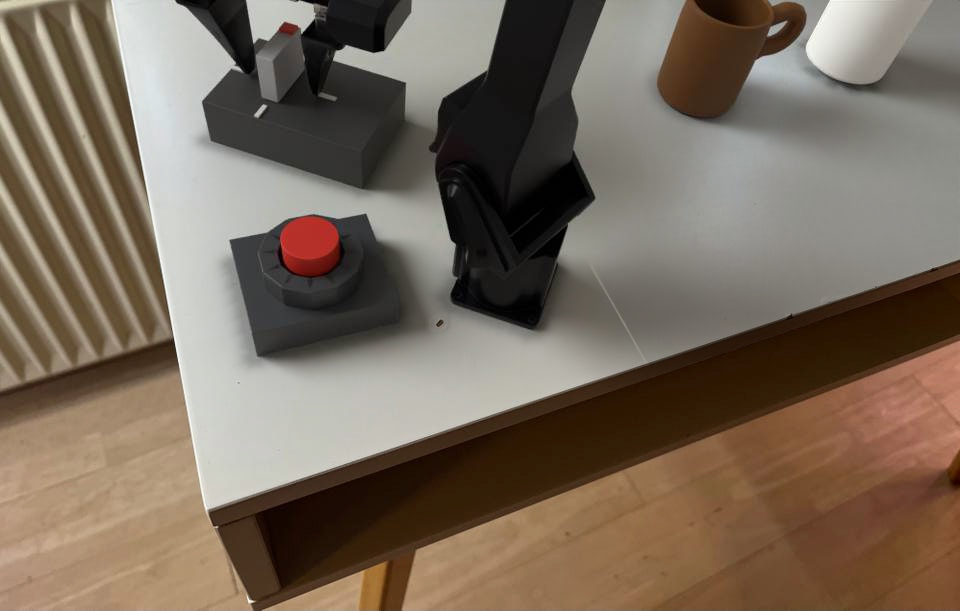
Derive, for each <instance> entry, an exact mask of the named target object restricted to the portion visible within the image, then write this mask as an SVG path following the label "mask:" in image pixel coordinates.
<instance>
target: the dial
mask: <svg viewBox="0 0 960 611" xmlns="http://www.w3.org/2000/svg"><path fill="white" fill-rule="evenodd" d="M301 34H302V28H301V27H300V26H299V25H298V24H294V23H291V22H288V21H284V22H282V24H281V25H280V26H279V27H278V29H277V31H275V33H274V34H273V35H272V36H271V37H270V39H268V40H267V41H268V42H267V43H266V44H265V46H264V47H263V48H262V49H261V50H260V51H259V52H258V54H257V55H256V61H257V68H258V75H259V81H260V88H261V95H262V98H264V99H268V100H271V101H274V102H277V103H278V102H279V101H280V100H281V99H282V97H283V96H284V95H285V94H286V92H287V91H288V90H289V89H290V87H291V86H292V85H293V83H294V82H295V81H296V80H297V78H298V77H299V76H300V75H301V73H302V72H303V71H304V69H305V68H304V57H303V49H302V44H301V38H300V35H301Z"/></svg>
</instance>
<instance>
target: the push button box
mask: <svg viewBox="0 0 960 611" xmlns="http://www.w3.org/2000/svg"><path fill="white" fill-rule="evenodd" d="M303 217H319V218H322V219H325V220H327V221H329V222H330V223H331V224H333V225H334V227H335V228H336V229H337V231H338V235H339V249H340V258H339V261H338V263H337V265H336V266H335V267H334V268H333V269H332V270H331V271H329V272H328V273H326V274H323V275H320V276H315V277H306V276H301V275H298V274H296V273H294V272H292V271H291V270H290V269H289V268H288V267H287V266H286V265H285V263H284V260H283V254H282V247H281V241H280V238H281V233H282V231H283V229H284V228H285V227H286V226H287V225H288V224H289V223H290V222H292V221H294V220H296V219H299V218H303ZM228 241H229V245H230V250H231V254H232V258H233V262H234V266H235V271H236V275H237V279H238V283H239V287H240V291H241V295H242V299H243V305H244V308H245V312H246V316H247V320H248V324H249V328H250V334H251V337H252V341H253V345H254V350H255V353H256V357H262V356H266V355H269V354H273V353H278V352H282V351H286V350H290V349H295V348H299V347H303V346H307V345H308V346H309V345H312V344H315V343H320V342H324V341H328V340H332V339H337V338H340V337H345V336H349V335H352V334H353V335H354V334H357V333H361V332H366V331H370V330H374V329H378V328H383V327H386V326H390V325H394V324H395V325H396V324H398V323H399V321H400V320H399V319H400V298H399V295H398V293H397V290H396V287H395V284H394V283H393V280H392V277H391V274H390V271H389V269H388V267H387V264H386V262H385V259H384V256H383V253H382V251H381V248H380V246H379V243H378V240H377V238H376V235H375V233H374V230H373V227H372V225H371V222H370V220H369V216H368V214H367V213H360V214H356V215H352V216H346V217H340V218H337V217H332V216H325V215H320V214H316V213H311V214H306V215H301V216H294V217H290V218H287V219H285V220H283V221H281V222H280V223H279V224H277V225H276V226H275V227H273V228H272V229H269V231H267V232H262V233H257V234H251V235H247V236H242V237H236V238H231V239H229V240H228Z"/></svg>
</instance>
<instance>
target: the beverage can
mask: <svg viewBox="0 0 960 611" xmlns="http://www.w3.org/2000/svg"><path fill="white" fill-rule="evenodd" d="M933 1H934V0H829V1H828V4H827V5H826V7H825V9H824V10H823V13H822V15H821V16H820V18H819V20H818V22H817V24H816V26H815V27H814V29H813V30H812V33H811V35H810V37H809V39H808V41H807V43H806V44H805V53H806V56H807V58H808V59H809V61H810V62H811V64H812V65H813V66H814V67H815V68H817V69H818V70H819V71H820V72H822V74H824V75H826V76H828V77H830V78H831V79H834V80H836V81H839V82H843V83H847V84H853V85H868V84H874V83H876V82H878V81H879V80H881V79H882V78H883V77H884V76H885V74H886V73H887V71H888V69H889V68H890V66H891V65H892V64H893V62H894V60H895V59H896V58H897V56H898V54H899V53H900V51H901V49H902V48H903V47H904V46H905V44H906V42H907V41H908V39H909V37H910V36H911V34H912V33H913V32H914V30H915V29H916V27H917V26H918V24H919V23H920V21H921V20H922V18H923V17H924V15H925V13H926V12H927V10H928V9H929V8H930V6H931V4H932V3H933Z"/></svg>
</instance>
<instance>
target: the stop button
mask: <svg viewBox="0 0 960 611" xmlns="http://www.w3.org/2000/svg"><path fill="white" fill-rule="evenodd" d="M280 241H281V247H282V254H283V260H284V263H285V265H286V266H287V267H288V268H289V269H290V270H291V271H292V272H294V273H296V274H298V275H301V276H306V277H315V276H320V275H323V274H326V273H328V272H329V271H331V270H332V269H333V268H334V267H335V266H336V265H337V263H338V261H339V258H340V249H339V235H338V231H337V229H336V228H335V227H334V225H333V224H331V223H330V222H329V221H327V220H325V219H322V218H319V217H303V218H299V219H296V220H294V221H292V222H290V223H289V224H288V225H287V226H286V227H285V228H284V229H283V231H282V233H281V238H280Z"/></svg>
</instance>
